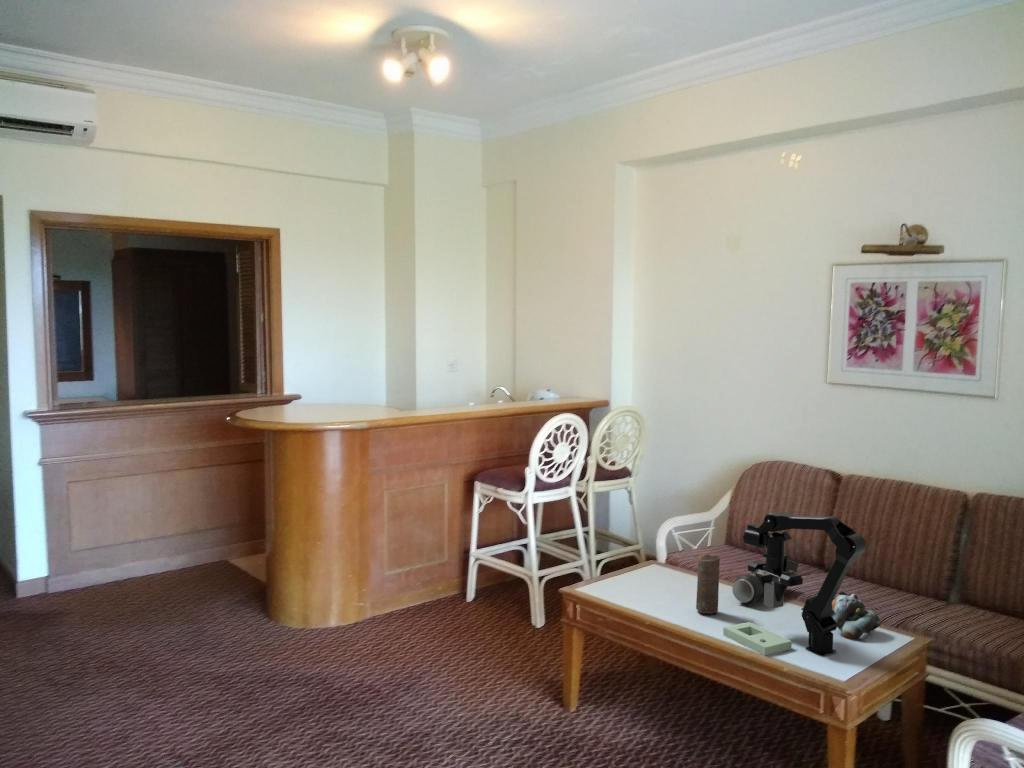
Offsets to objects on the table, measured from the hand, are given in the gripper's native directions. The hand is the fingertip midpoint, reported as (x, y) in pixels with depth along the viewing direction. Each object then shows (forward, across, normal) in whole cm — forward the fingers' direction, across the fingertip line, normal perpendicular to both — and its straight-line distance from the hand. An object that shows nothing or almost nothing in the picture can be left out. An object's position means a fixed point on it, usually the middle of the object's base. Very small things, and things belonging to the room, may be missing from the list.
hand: (773, 599), depth 256 cm
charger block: (+2, 0, 0) cm, 2 cm away
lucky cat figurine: (+12, -10, -25) cm, 29 cm away
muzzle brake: (+12, +29, -23) cm, 39 cm away
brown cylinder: (+12, +24, +6) cm, 28 cm away
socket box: (+12, -3, +9) cm, 15 cm away
